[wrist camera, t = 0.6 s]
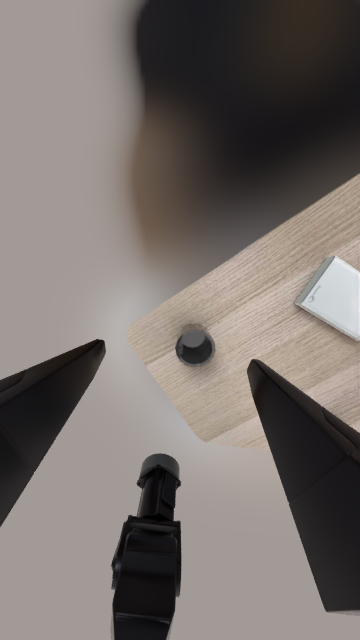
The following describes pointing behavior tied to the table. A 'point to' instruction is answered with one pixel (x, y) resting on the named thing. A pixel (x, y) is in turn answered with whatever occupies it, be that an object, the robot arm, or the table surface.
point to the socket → (194, 345)
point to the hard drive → (334, 296)
